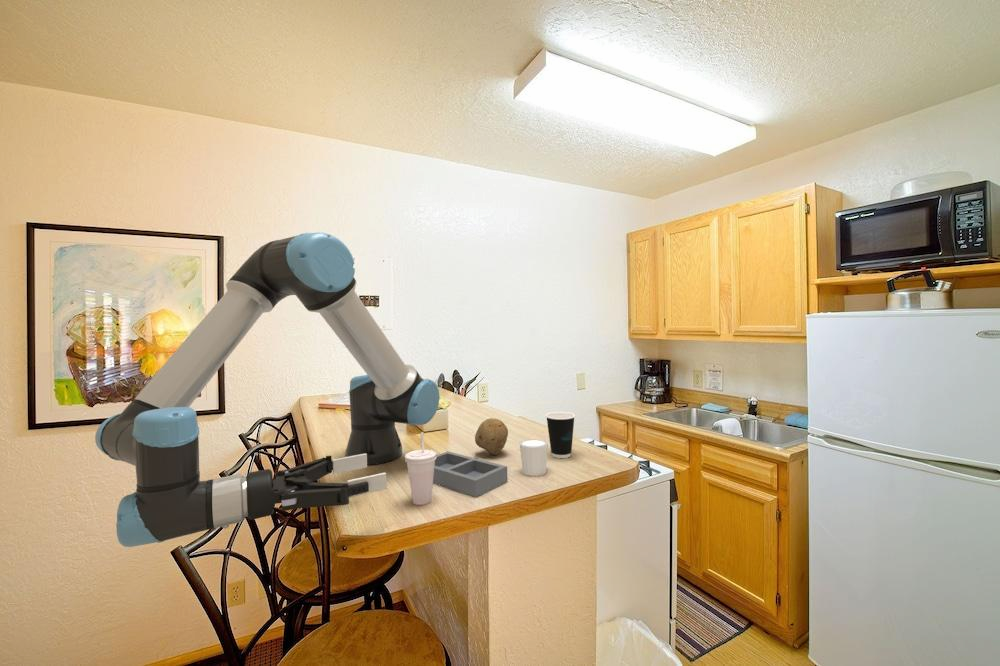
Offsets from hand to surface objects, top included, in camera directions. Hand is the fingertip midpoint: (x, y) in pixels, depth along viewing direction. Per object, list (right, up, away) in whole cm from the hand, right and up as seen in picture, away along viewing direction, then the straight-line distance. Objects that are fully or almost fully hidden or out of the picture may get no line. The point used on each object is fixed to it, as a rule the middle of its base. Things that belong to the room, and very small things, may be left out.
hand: (375, 469), depth 79 cm
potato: (+22, -7, +34) cm, 41 cm away
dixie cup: (+40, -7, +31) cm, 52 cm away
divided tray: (+15, -8, +16) cm, 23 cm away
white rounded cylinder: (+32, -7, +20) cm, 39 cm away
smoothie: (+8, -8, +5) cm, 13 cm away
